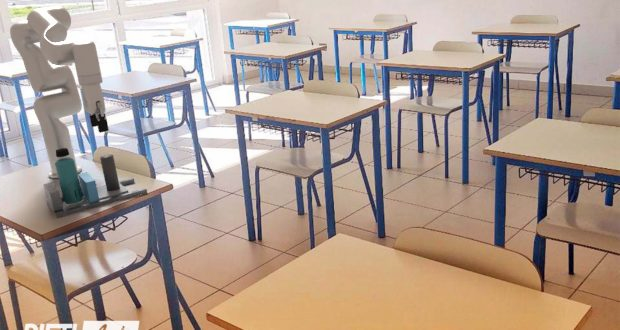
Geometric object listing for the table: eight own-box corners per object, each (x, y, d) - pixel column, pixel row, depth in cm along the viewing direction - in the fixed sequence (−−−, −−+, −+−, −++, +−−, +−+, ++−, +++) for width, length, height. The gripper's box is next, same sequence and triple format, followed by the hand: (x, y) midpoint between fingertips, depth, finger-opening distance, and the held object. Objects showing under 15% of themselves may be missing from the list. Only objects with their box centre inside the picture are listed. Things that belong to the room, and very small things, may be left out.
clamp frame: (47, 204, 220) (42, 182, 217) (133, 181, 234) (129, 161, 231) (56, 218, 206) (51, 195, 203) (147, 193, 220) (143, 171, 218)
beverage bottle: (78, 208, 213) (65, 151, 206) (60, 208, 214) (47, 152, 208) (88, 201, 219) (75, 145, 212) (71, 201, 220) (58, 146, 214)
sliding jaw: (82, 195, 223) (74, 159, 219) (119, 185, 229) (112, 150, 225) (91, 204, 213) (82, 167, 209) (128, 194, 219) (121, 157, 215)
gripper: (72, 77, 215) (83, 126, 221) (84, 84, 201) (95, 136, 207) (95, 74, 219) (104, 121, 224) (108, 80, 205) (118, 131, 210)
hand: (100, 128), depth 215 cm, fingers open, 9 cm apart
